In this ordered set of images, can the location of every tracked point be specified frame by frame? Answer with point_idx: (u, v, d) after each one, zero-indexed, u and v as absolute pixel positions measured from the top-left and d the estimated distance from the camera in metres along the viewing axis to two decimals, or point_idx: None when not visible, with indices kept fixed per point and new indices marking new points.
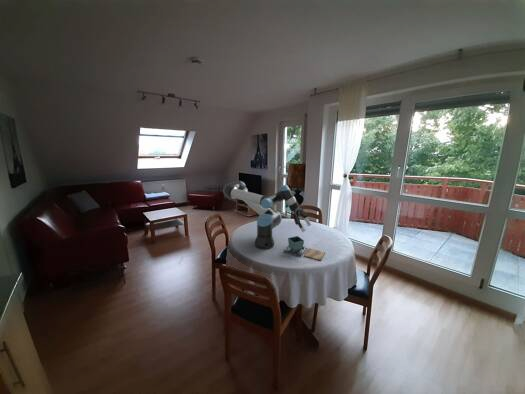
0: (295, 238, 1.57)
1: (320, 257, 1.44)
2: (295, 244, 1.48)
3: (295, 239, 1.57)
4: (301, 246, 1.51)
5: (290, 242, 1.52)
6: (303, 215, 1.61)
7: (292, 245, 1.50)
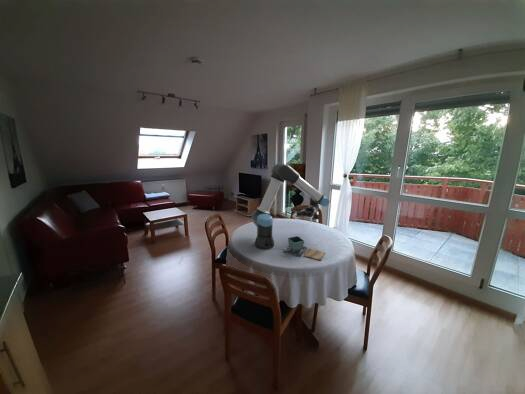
0: (295, 238, 1.57)
1: (320, 257, 1.44)
2: (295, 244, 1.48)
3: (295, 239, 1.57)
4: (301, 246, 1.51)
5: (290, 242, 1.52)
6: (299, 214, 1.68)
7: (292, 245, 1.50)
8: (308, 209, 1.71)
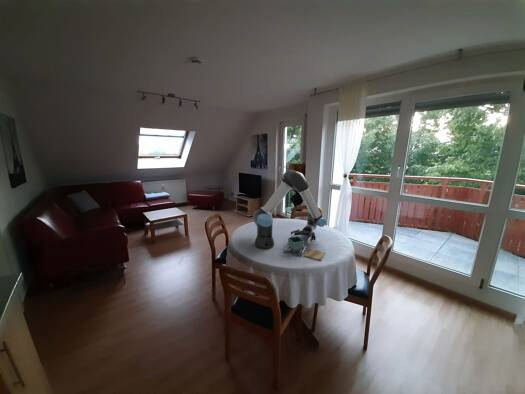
0: (295, 238, 1.57)
1: (320, 257, 1.44)
2: (295, 244, 1.48)
3: (295, 239, 1.57)
4: (301, 246, 1.51)
5: (290, 242, 1.52)
6: (296, 234, 1.68)
7: (292, 245, 1.50)
8: (306, 229, 1.72)
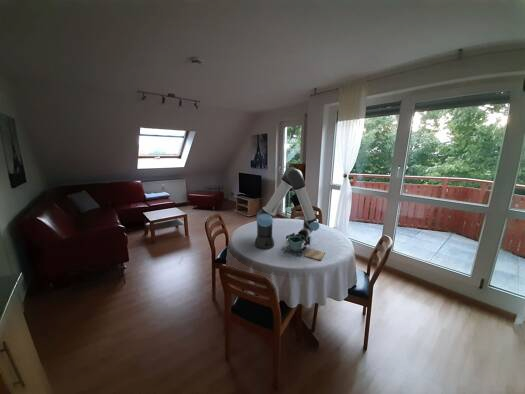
0: (295, 238, 1.57)
1: (320, 257, 1.44)
2: (295, 244, 1.48)
3: (295, 239, 1.57)
4: (301, 246, 1.51)
5: (290, 242, 1.52)
6: None
7: (292, 245, 1.50)
8: (301, 232, 1.65)
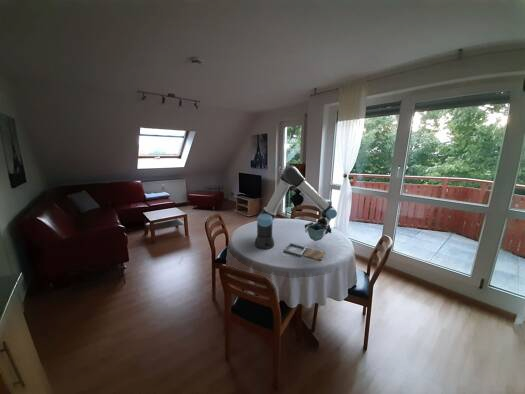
0: (315, 227, 1.49)
1: (320, 257, 1.44)
2: (316, 232, 1.39)
3: (315, 228, 1.49)
4: (322, 234, 1.42)
5: (310, 230, 1.43)
6: None
7: (313, 233, 1.41)
8: (320, 221, 1.56)
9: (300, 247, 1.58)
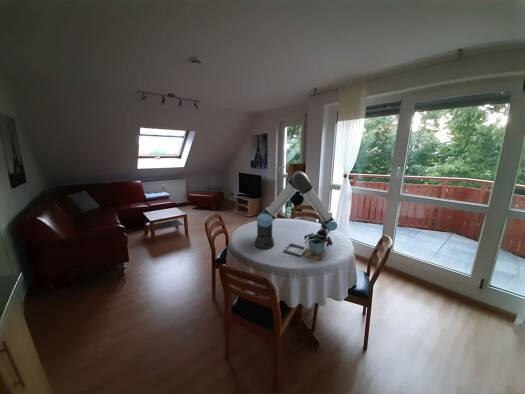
0: (315, 241, 1.51)
1: (320, 257, 1.44)
2: (317, 246, 1.42)
3: (315, 242, 1.52)
4: (323, 248, 1.45)
5: (311, 244, 1.46)
6: (311, 238, 1.55)
7: (314, 247, 1.44)
8: (320, 232, 1.59)
9: (300, 247, 1.58)
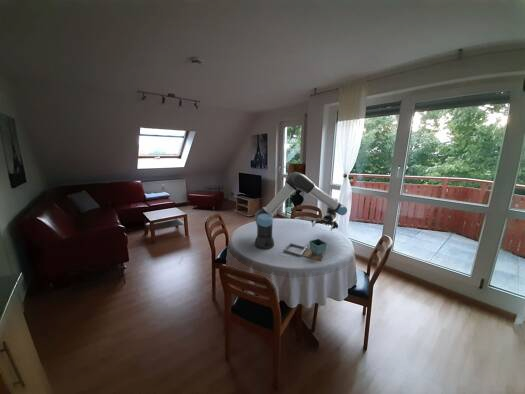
0: (316, 241, 1.51)
1: (320, 257, 1.44)
2: (318, 247, 1.42)
3: (316, 242, 1.51)
4: (324, 249, 1.45)
5: (312, 245, 1.45)
6: (317, 222, 1.65)
7: (315, 248, 1.43)
8: (326, 217, 1.69)
9: (300, 247, 1.58)
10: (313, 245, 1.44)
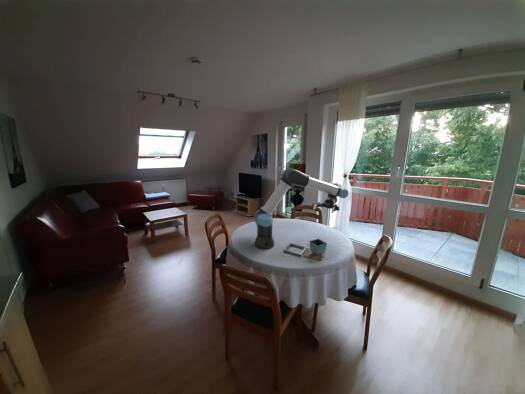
0: (316, 241, 1.51)
1: (320, 257, 1.44)
2: (318, 247, 1.42)
3: (316, 242, 1.51)
4: (324, 249, 1.45)
5: (312, 245, 1.45)
6: (318, 206, 1.63)
7: (315, 248, 1.43)
8: (327, 201, 1.67)
9: (300, 247, 1.58)
10: (313, 245, 1.44)
